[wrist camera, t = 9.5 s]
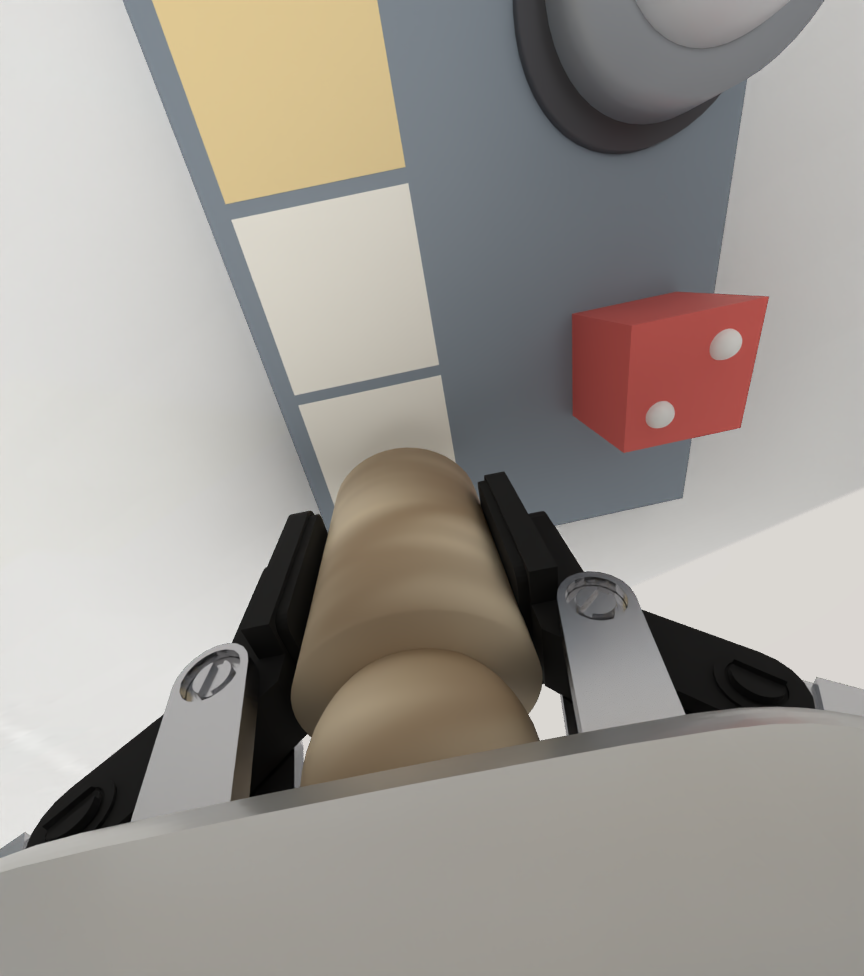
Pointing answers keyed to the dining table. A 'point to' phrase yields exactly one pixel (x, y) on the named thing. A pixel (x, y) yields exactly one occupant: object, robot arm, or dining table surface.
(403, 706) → the pawn
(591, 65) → the dome
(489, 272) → the board
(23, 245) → the dining table surface
